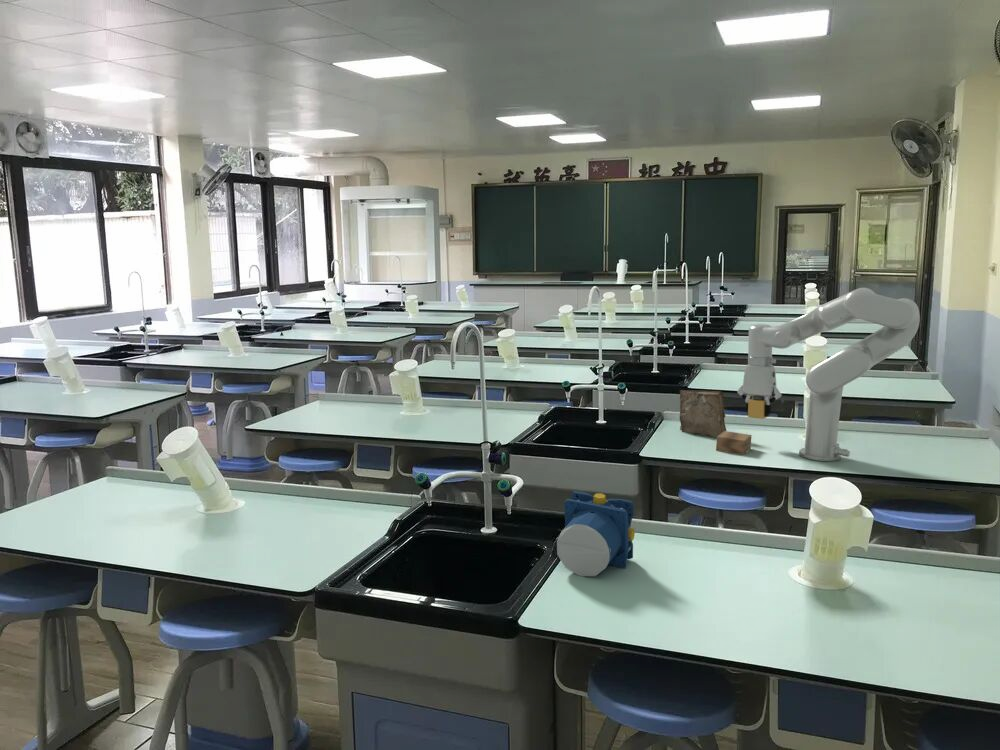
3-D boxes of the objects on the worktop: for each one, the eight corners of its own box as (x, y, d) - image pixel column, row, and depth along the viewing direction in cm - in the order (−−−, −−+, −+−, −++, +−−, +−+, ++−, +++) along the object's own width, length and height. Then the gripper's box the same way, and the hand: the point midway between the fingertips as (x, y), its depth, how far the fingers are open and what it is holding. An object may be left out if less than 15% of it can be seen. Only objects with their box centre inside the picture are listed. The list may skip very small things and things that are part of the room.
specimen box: (750, 449, 267) (751, 434, 266) (743, 455, 259) (744, 440, 258) (723, 445, 271) (724, 430, 271) (715, 451, 264) (717, 436, 263)
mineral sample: (726, 436, 282) (729, 392, 279) (723, 439, 278) (726, 394, 275) (678, 429, 291) (680, 386, 288) (674, 431, 287) (676, 388, 284)
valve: (572, 545, 183) (571, 485, 178) (636, 559, 176) (636, 497, 171) (548, 574, 172) (546, 511, 167) (615, 590, 165) (615, 525, 160)
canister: (768, 416, 268) (769, 395, 267) (763, 419, 264) (763, 398, 263) (753, 414, 271) (754, 394, 270) (748, 417, 267) (748, 396, 266)
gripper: (789, 361, 262) (787, 415, 265) (739, 358, 273) (738, 410, 276) (781, 364, 257) (779, 419, 260) (730, 361, 267) (729, 414, 270)
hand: (758, 414), depth 268 cm, fingers closed on canister, 5 cm apart
